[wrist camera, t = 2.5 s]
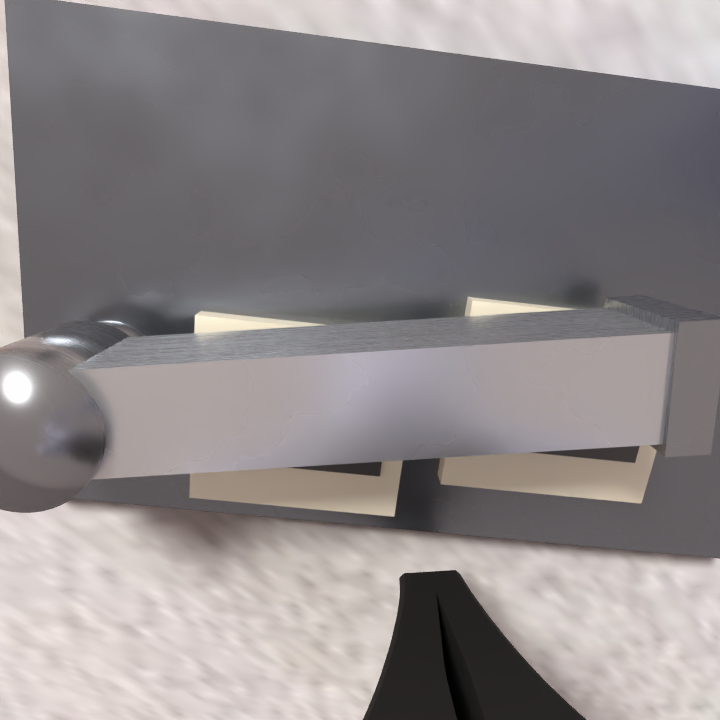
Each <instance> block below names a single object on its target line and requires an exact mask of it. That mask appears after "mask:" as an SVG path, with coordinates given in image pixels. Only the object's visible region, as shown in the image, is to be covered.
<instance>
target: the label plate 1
mask: <svg viewBox="0 0 720 720" xmlns="http://www.w3.org/2000/svg"><path fill="white" fill-rule="evenodd" d="M318 325H325V324H316V323H307V322H297V321H288V320H279V319H270V318H261V317H252V316H242V315H233V314H224V313H215V312H206V311H200V312H199V313H197V314H196V315H195V327H194V333H206V332H222V331H238V330H254V329H270V328H286V327H302V326H318ZM402 462H403V460H400V461H384V462H368V463H352V464H335V465H319V466H303V467H287V468H271V469H254V470H238V471H222V472H206V473H190V493H189V498H199V499H210V500H220V501H231V502H242V503H252V504H263V505H274V506H285V507H295V508H306V509H317V510H328V511H338V512H349V513H360V514H370V515H381V516H392V517H394V515H395V509H396V502H397V495H398V489H399V482H400V475H401V469H402Z"/></svg>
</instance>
